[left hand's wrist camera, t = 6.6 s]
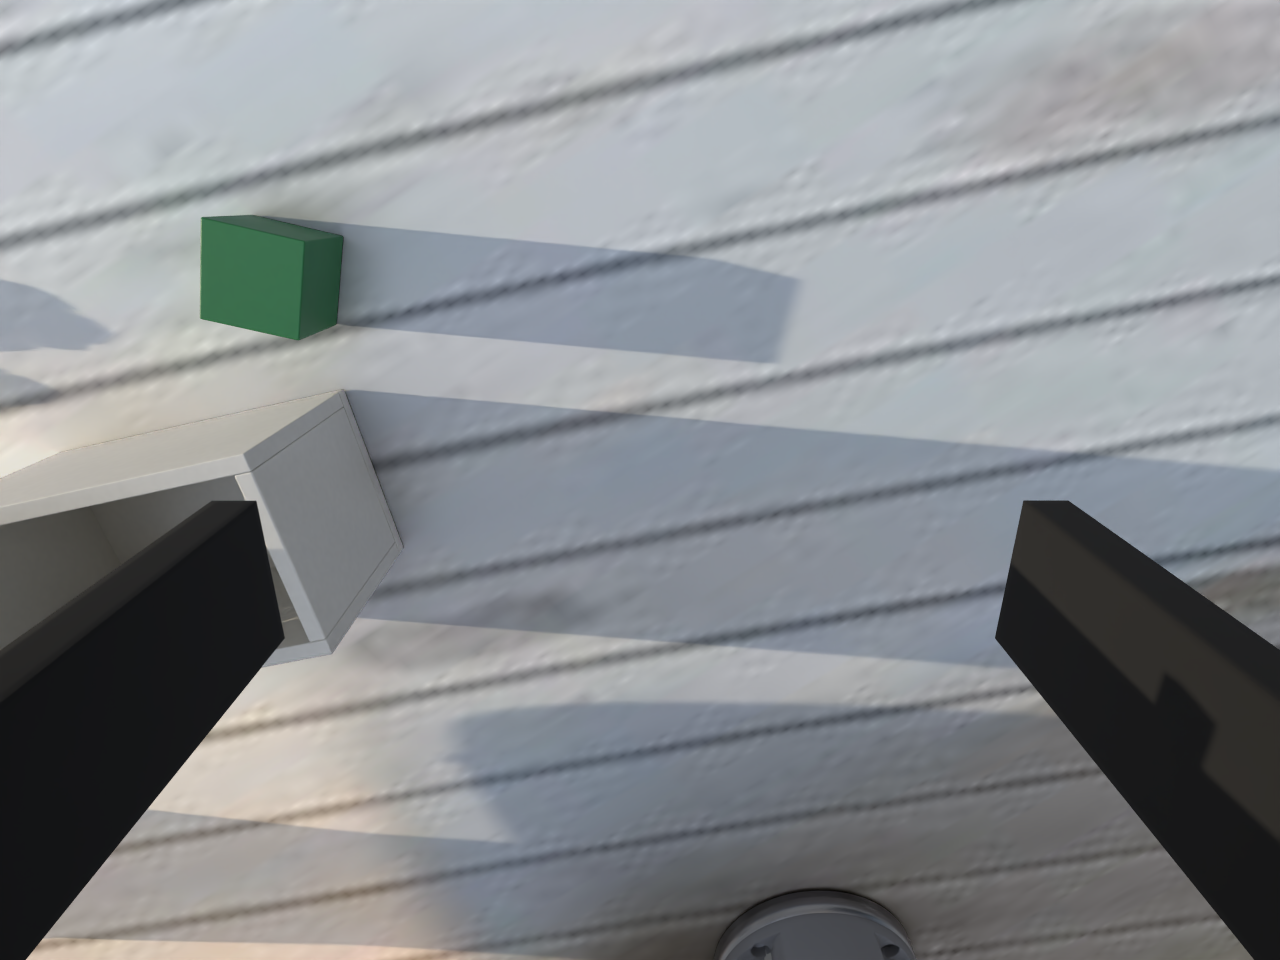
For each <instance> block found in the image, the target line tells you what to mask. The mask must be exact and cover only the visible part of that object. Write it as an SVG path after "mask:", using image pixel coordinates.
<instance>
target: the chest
mask: <svg viewBox="0 0 1280 960" xmlns="http://www.w3.org/2000/svg"><path fill="white" fill-rule="evenodd" d="M211 501H257V506H258V510H259V515H260V520H261V525H262V530H263V535H264V539H265V544H266V549H267V554H268V559H269V564H270V568H271V573H272V578H273V583H274V588H275V593H276V597H277V602H278V607H279V612H280V617H281V621H282V626H283V631H284V636H285V639H284V640H283V641H282V642H281V644H280V645H279V646H278V647H277V649H276V650H275V651H274V652H273V654H272V655H271V656H270V657H269V659H268V660H267V661H266V662H265V664H264V665H263V666H262V667H267V666H272V665H278V664H283V663H288V662H293V661H298V660H303V659H309V658H314V657H319V656H324V655H329V654H332V653H333V652H334V650H335V649H336V648H337V646H338V645H339V643H340V642H341V640H342V639H343V637H344V636H345V634H346V633H347V631H348V630H349V628H350V627H351V625H352V624H353V622H354V621H355V619H356V618H357V616H358V615H359V614H360V612H361V611H362V609H363V608H364V606H365V605H366V603H367V602H368V600H369V599H370V597H371V596H372V594H373V593H374V591H375V590H376V588H377V587H378V585H379V584H380V583H381V581H382V580H383V578H384V577H385V575H386V574H387V572H388V571H389V569H390V568H391V566H392V565H393V563H394V562H395V560H396V559H397V557H398V556H399V554H400V553H401V551H402V550H403V545H402V542H401V540H400V537H399V534H398V532H397V529H396V526H395V524H394V521H393V518H392V516H391V513H390V510H389V508H388V505H387V503H386V500H385V497H384V495H383V492H382V489H381V487H380V484H379V481H378V479H377V476H376V473H375V471H374V468H373V465H372V463H371V460H370V457H369V455H368V452H367V449H366V447H365V444H364V442H363V439H362V436H361V434H360V431H359V428H358V426H357V423H356V420H355V418H354V415H353V412H352V410H351V407H350V404H349V402H348V399H347V396H346V394H345V391H344V390H337V391H333V392H328V393H324V394H319V395H315V396H310V397H306V398H301V399H297V400H292V401H288V402H283V403H279V404H274V405H270V406H265V407H261V408H257V409H252V410H248V411H243V412H239V413H234V414H230V415H225V416H221V417H216V418H212V419H207V420H203V421H198V422H194V423H189V424H185V425H180V426H176V427H171V428H167V429H162V430H158V431H153V432H149V433H144V434H140V435H136V436H131V437H127V438H122V439H118V440H113V441H109V442H104V443H100V444H95V445H91V446H86V447H82V448H77V449H73V450H68V451H64V452H60V453H57V454H55V455H53V456H51V457H48V458H46V459H43V460H41V461H39V462H36V463H34V464H32V465H30V466H27V467H25V468H23V469H20V470H18V471H16V472H14V473H11V474H9V475H7V476H5V477H2V478H0V650H1V649H3V648H4V647H5V646H7V645H8V644H10V643H11V642H13V641H14V640H15V639H17V638H18V637H20V636H21V635H22V634H24V633H25V632H27V631H28V630H29V629H31V628H32V627H34V626H35V625H37V624H38V623H39V622H41V621H42V620H44V619H45V618H46V617H48V616H49V615H51V614H52V613H54V612H55V611H56V610H58V609H59V608H61V607H62V606H63V605H65V604H66V603H68V602H69V601H70V600H72V599H73V598H75V597H76V596H78V595H79V594H80V593H82V592H83V591H85V590H86V589H87V588H89V587H90V586H92V585H93V584H95V583H96V582H97V581H99V580H100V579H102V578H103V577H104V576H106V575H107V574H109V573H110V572H112V571H113V570H114V569H116V568H117V567H119V566H120V565H121V564H123V563H124V562H126V561H127V560H128V559H130V558H131V557H133V556H134V555H136V554H137V553H138V552H140V551H141V550H143V549H144V548H145V547H147V546H148V545H150V544H151V543H153V542H154V541H155V540H157V539H158V538H160V537H161V536H162V535H164V534H165V533H167V532H168V531H170V530H171V529H172V528H174V527H175V526H177V525H178V524H179V523H181V522H182V521H184V520H185V519H186V518H188V517H189V516H191V515H192V514H194V513H195V512H196V511H198V510H199V509H201V508H202V507H203V506H205V505H206V504H208V503H209V502H211ZM262 667H261V668H262Z"/></svg>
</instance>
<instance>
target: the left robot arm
mask: <svg viewBox="0 0 1280 960" xmlns="http://www.w3.org/2000/svg"><path fill="white" fill-rule="evenodd" d="M284 639H285V636H284V631H283V626H282V621H281V617H280V612H279V607H278V602H277V597H276V593H275V588H274V583H273V578H272V573H271V568H270V564H269V559H268V554H267V549H266V544H265V539H264V535H263V530H262V525H261V520H260V515H259V510H258V506H257V501H211V502H209V503H208V504H206V505H205V506H203V507H202V508H201V509H199V510H198V511H196V512H195V513H194V514H192V515H191V516H189V517H188V518H186V519H185V520H184V521H182V522H181V523H179V524H178V525H177V526H175V527H174V528H172V529H171V530H170V531H168V532H167V533H165V534H164V535H162V536H161V537H160V538H158V539H157V540H155V541H154V542H153V543H151V544H150V545H148V546H147V547H145V548H144V549H143V550H141V551H140V552H138V553H137V554H136V555H134V556H133V557H131V558H130V559H128V560H127V561H126V562H124V563H123V564H121V565H120V566H119V567H117V568H116V569H114V570H113V571H112V572H110V573H109V574H107V575H106V576H104V577H103V578H102V579H100V580H99V581H97V582H96V583H95V584H93V585H92V586H90V587H89V588H87V589H86V590H85V591H83V592H82V593H80V594H79V595H78V596H76V597H75V598H73V599H72V600H70V601H69V602H68V603H66V604H65V605H63V606H62V607H61V608H59V609H58V610H56V611H55V612H54V613H52V614H51V615H49V616H48V617H46V618H45V619H44V620H42V621H41V622H39V623H38V624H37V625H35V626H34V627H32V628H31V629H29V630H28V631H27V632H25V633H24V634H22V635H21V636H20V637H18V638H17V639H15V640H14V641H13V642H11V643H10V644H8V645H7V646H5V647H4V648H3V649H1V650H0V960H26V959H27V957H28V956H29V955H30V954H31V953H32V951H33V950H34V949H35V948H36V946H37V945H38V944H39V943H40V941H41V940H42V939H43V938H44V936H45V935H46V934H47V933H48V931H49V930H50V929H51V928H52V926H53V925H54V924H55V923H56V922H57V920H58V919H59V918H60V917H61V915H62V914H63V913H64V912H65V910H66V909H67V908H68V907H69V905H70V904H71V903H72V902H73V900H74V899H75V898H76V897H77V895H78V894H79V893H80V892H81V891H82V889H83V888H84V887H85V886H86V884H87V883H88V882H89V881H90V879H91V878H92V877H93V876H94V874H95V873H96V872H97V871H98V869H99V868H100V867H101V866H102V864H103V863H104V862H105V861H106V859H107V858H108V857H109V856H110V855H111V853H112V852H113V851H114V850H115V848H116V847H117V846H118V845H119V843H120V842H121V841H122V840H123V838H124V837H125V836H126V835H127V833H128V832H129V831H130V830H131V828H132V827H133V826H134V825H135V824H136V822H137V821H138V820H139V819H140V817H141V816H142V815H143V814H144V812H145V811H146V810H147V809H148V807H149V806H150V805H151V804H152V802H153V801H154V800H155V799H156V797H157V796H158V795H159V794H160V793H161V791H162V790H163V789H164V788H165V786H166V785H167V784H168V783H169V781H170V780H171V779H172V778H173V776H174V775H175V774H176V773H177V771H178V770H179V769H180V768H181V766H182V765H183V764H184V763H185V762H186V760H187V759H188V758H189V757H190V755H191V754H192V753H193V752H194V750H195V749H196V748H197V747H198V745H199V744H200V743H201V742H202V740H203V739H204V738H205V737H206V735H207V734H208V733H209V732H210V731H211V729H212V728H213V727H214V726H215V724H216V723H217V722H218V721H219V719H220V718H221V717H222V716H223V714H224V713H225V712H226V711H227V709H228V708H229V707H230V706H231V704H232V703H233V702H234V701H235V700H236V698H237V697H238V696H239V695H240V693H241V692H242V691H243V690H244V688H245V687H246V686H247V685H248V683H249V682H250V681H251V680H252V678H253V677H254V676H255V675H256V673H257V672H258V671H259V670H260V669H261V667H262V666H263V665H264V664H265V662H266V661H267V660H268V659H269V657H270V656H271V655H272V654H273V652H274V651H275V650H276V649H277V647H278V646H279V645H280V644H281V642H282V641H283V640H284ZM995 639H996V640H997V641H998V642H999V644H1000V645H1001V646H1002V647H1003V649H1004V650H1005V651H1006V652H1007V654H1008V655H1009V656H1010V657H1011V659H1012V660H1013V661H1014V662H1015V664H1016V665H1017V666H1018V667H1019V669H1020V670H1021V671H1022V672H1023V673H1024V675H1025V676H1026V677H1027V678H1028V680H1029V681H1030V682H1031V683H1032V685H1033V686H1034V687H1035V688H1036V690H1037V691H1038V692H1039V693H1040V695H1041V696H1042V697H1043V698H1044V700H1045V701H1046V702H1047V703H1048V704H1049V706H1050V707H1051V708H1052V709H1053V711H1054V712H1055V713H1056V714H1057V716H1058V717H1059V718H1060V719H1061V721H1062V722H1063V723H1064V724H1065V726H1066V727H1067V728H1068V729H1069V731H1070V732H1071V733H1072V734H1073V735H1074V737H1075V738H1076V739H1077V740H1078V742H1079V743H1080V744H1081V745H1082V747H1083V748H1084V749H1085V750H1086V752H1087V753H1088V754H1089V755H1090V757H1091V758H1092V759H1093V760H1094V762H1095V763H1096V764H1097V765H1098V766H1099V768H1100V769H1101V770H1102V771H1103V773H1104V774H1105V775H1106V776H1107V778H1108V779H1109V780H1110V781H1111V783H1112V784H1113V785H1114V786H1115V788H1116V789H1117V790H1118V791H1119V793H1120V794H1121V795H1122V796H1123V797H1124V799H1125V800H1126V801H1127V802H1128V804H1129V805H1130V806H1131V807H1132V809H1133V810H1134V811H1135V812H1136V814H1137V815H1138V816H1139V817H1140V819H1141V820H1142V821H1143V822H1144V824H1145V825H1146V826H1147V827H1148V828H1149V830H1150V831H1151V832H1152V833H1153V835H1154V836H1155V837H1156V838H1157V840H1158V841H1159V842H1160V843H1161V845H1162V846H1163V847H1164V848H1165V850H1166V851H1167V852H1168V853H1169V855H1170V856H1171V857H1172V858H1173V859H1174V861H1175V862H1176V863H1177V864H1178V866H1179V867H1180V868H1181V869H1182V871H1183V872H1184V873H1185V874H1186V876H1187V877H1188V878H1189V879H1190V881H1191V882H1192V883H1193V884H1194V886H1195V887H1196V888H1197V889H1198V891H1199V892H1200V893H1201V894H1202V895H1203V897H1204V898H1205V899H1206V900H1207V902H1208V903H1209V904H1210V905H1211V907H1212V908H1213V909H1214V910H1215V912H1216V913H1217V914H1218V915H1219V917H1220V918H1221V919H1222V920H1223V922H1224V923H1225V924H1226V925H1227V926H1228V928H1229V929H1230V930H1231V931H1232V933H1233V934H1234V935H1235V936H1236V938H1237V939H1238V940H1239V941H1240V943H1241V944H1242V945H1243V946H1244V948H1245V949H1246V950H1247V951H1248V953H1249V954H1250V955H1251V956H1252V957H1253V959H1254V960H1280V650H1279V649H1277V648H1276V647H1275V646H1273V645H1272V644H1270V643H1269V642H1267V641H1266V640H1265V639H1263V638H1262V637H1260V636H1259V635H1258V634H1256V633H1255V632H1253V631H1252V630H1251V629H1249V628H1248V627H1246V626H1245V625H1243V624H1242V623H1241V622H1239V621H1238V620H1236V619H1235V618H1234V617H1232V616H1231V615H1229V614H1228V613H1226V612H1225V611H1224V610H1222V609H1221V608H1219V607H1218V606H1217V605H1215V604H1214V603H1212V602H1211V601H1210V600H1208V599H1207V598H1205V597H1204V596H1202V595H1201V594H1200V593H1198V592H1197V591H1195V590H1194V589H1193V588H1191V587H1190V586H1188V585H1187V584H1185V583H1184V582H1183V581H1181V580H1180V579H1178V578H1177V577H1176V576H1174V575H1173V574H1171V573H1170V572H1168V571H1167V570H1166V569H1164V568H1163V567H1161V566H1160V565H1159V564H1157V563H1156V562H1154V561H1153V560H1152V559H1150V558H1149V557H1147V556H1146V555H1144V554H1143V553H1142V552H1140V551H1139V550H1137V549H1136V548H1135V547H1133V546H1132V545H1130V544H1129V543H1127V542H1126V541H1125V540H1123V539H1122V538H1120V537H1119V536H1118V535H1116V534H1115V533H1113V532H1112V531H1110V530H1109V529H1108V528H1106V527H1105V526H1103V525H1102V524H1101V523H1099V522H1098V521H1096V520H1095V519H1094V518H1092V517H1091V516H1089V515H1088V514H1086V513H1085V512H1084V511H1082V510H1081V509H1079V508H1078V507H1077V506H1075V505H1074V504H1072V503H1071V502H1069V501H1023V506H1022V510H1021V515H1020V520H1019V525H1018V530H1017V535H1016V539H1015V544H1014V549H1013V554H1012V559H1011V564H1010V568H1009V573H1008V578H1007V583H1006V588H1005V593H1004V597H1003V602H1002V607H1001V612H1000V617H999V621H998V626H997V631H996V636H995ZM714 960H916V957H915V955H914V952H913V949H912V946H911V944H910V941H909V938H908V935H907V933H906V931H905V929H904V928H903V926H902V925H901V923H900V922H899V921H898V920H897V919H896V917H895V916H893V915H892V914H891V913H890V912H889V911H887V910H886V909H885V908H883V907H882V906H880V905H878V904H877V903H875V902H872V901H870V900H868V899H865V898H863V897H860V896H856V895H853V894H848V893H843V892H836V891H805V892H798V893H792V894H788V895H784V896H780V897H777V898H774V899H771V900H769V901H766V902H764V903H762V904H760V905H758V906H756V907H754V908H752V909H751V910H749V911H747V912H746V913H744V914H743V915H742V916H740V917H739V918H738V919H737V920H736V921H735V922H733V923H732V925H731V926H730V927H729V928H728V929H727V930H726V932H725V933H724V934H723V936H722V938H721V939H720V941H719V943H718V946H717V948H716V951H715V955H714Z"/></svg>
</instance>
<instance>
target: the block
mask: <svg viewBox="0 0 1280 960" xmlns="http://www.w3.org/2000/svg"><path fill="white" fill-rule="evenodd" d="M342 246H343V236H341V235H336V234H332V233H328V232H323V231H319V230H315V229H311V228H306V227H302V226H298V225H293V224H289V223H285V222H281V221H276V220H272V219H268V218H263V217H259V216H255V215H240V216H218V217H202V218H201V264H200V318H201V319H204V320H208V321H213V322H217V323H222V324H226V325H231V326H235V327H240V328H245V329H249V330H254V331H258V332H263V333H267V334H272V335H276V336H281V337H285V338H290V339H294V340H301V339H303V338H306V337H308V336H310V335H313V334H315V333H318V332H320V331H322V330H325V329H327V328H329V327H332V326H334V325H336V324H337V311H338V298H339V285H340V272H341V259H342Z"/></svg>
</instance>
